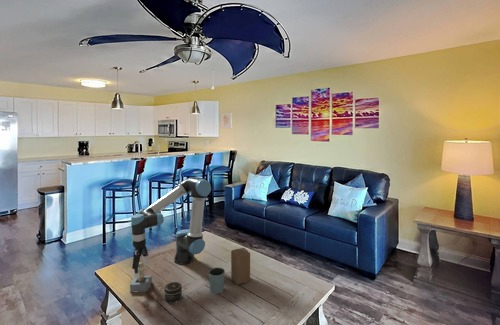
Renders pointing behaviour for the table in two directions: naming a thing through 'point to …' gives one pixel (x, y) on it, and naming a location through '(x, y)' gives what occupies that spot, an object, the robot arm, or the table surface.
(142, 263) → the peg
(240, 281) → the wooden block
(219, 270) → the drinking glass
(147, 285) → the socket
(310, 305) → the table surface
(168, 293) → the jar
